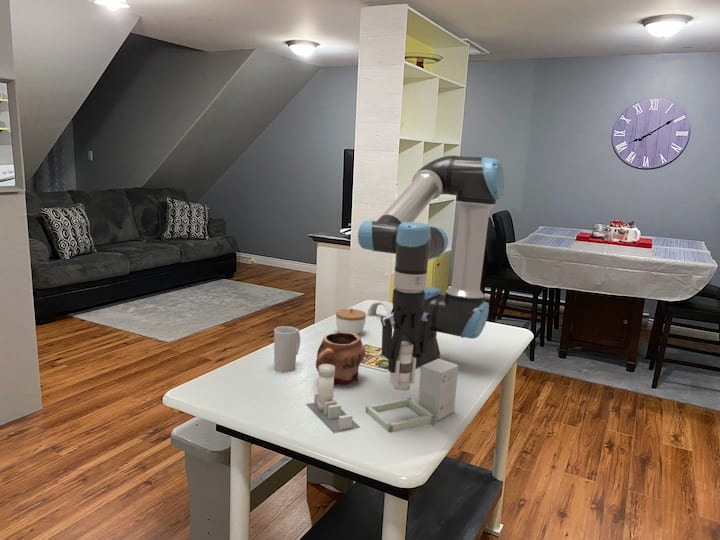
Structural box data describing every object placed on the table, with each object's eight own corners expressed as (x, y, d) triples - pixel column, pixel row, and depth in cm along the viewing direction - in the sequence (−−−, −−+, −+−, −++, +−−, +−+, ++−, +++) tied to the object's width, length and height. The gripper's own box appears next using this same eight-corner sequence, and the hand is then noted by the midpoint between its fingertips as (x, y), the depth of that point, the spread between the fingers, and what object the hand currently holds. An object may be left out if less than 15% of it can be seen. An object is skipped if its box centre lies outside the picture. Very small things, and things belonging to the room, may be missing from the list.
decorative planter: (338, 402, 148) (340, 352, 145) (299, 391, 154) (301, 342, 151) (372, 377, 166) (375, 332, 163) (336, 368, 171) (338, 324, 168)
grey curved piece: (426, 327, 217) (427, 309, 215) (407, 333, 208) (408, 314, 207) (379, 312, 232) (380, 296, 231) (360, 317, 224) (361, 300, 222)
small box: (434, 403, 151) (438, 357, 148) (454, 412, 147) (459, 364, 144) (416, 413, 145) (420, 365, 142) (437, 422, 141) (441, 372, 138)
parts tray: (408, 408, 147) (409, 397, 147) (433, 427, 138) (434, 416, 137) (365, 417, 141) (365, 406, 140) (388, 437, 132) (389, 426, 131)
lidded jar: (330, 330, 206) (331, 305, 204) (357, 327, 210) (358, 303, 208) (342, 339, 196) (343, 314, 194) (369, 337, 201) (371, 311, 199)
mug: (285, 374, 164) (287, 335, 162) (268, 368, 168) (269, 330, 165) (307, 364, 173) (309, 327, 170) (290, 359, 176) (291, 322, 174)
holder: (330, 404, 147) (332, 359, 144) (360, 433, 133) (363, 383, 130) (305, 409, 143) (307, 363, 141) (333, 439, 130) (335, 388, 127)
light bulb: (404, 382, 140) (407, 340, 138) (413, 389, 136) (416, 345, 134) (390, 385, 138) (393, 342, 136) (399, 391, 135) (402, 347, 132)
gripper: (386, 295, 125) (379, 394, 130) (448, 290, 133) (439, 383, 138) (369, 287, 131) (363, 382, 136) (429, 283, 140) (421, 372, 144)
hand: (401, 382), depth 137 cm, fingers closed on light bulb, 4 cm apart
